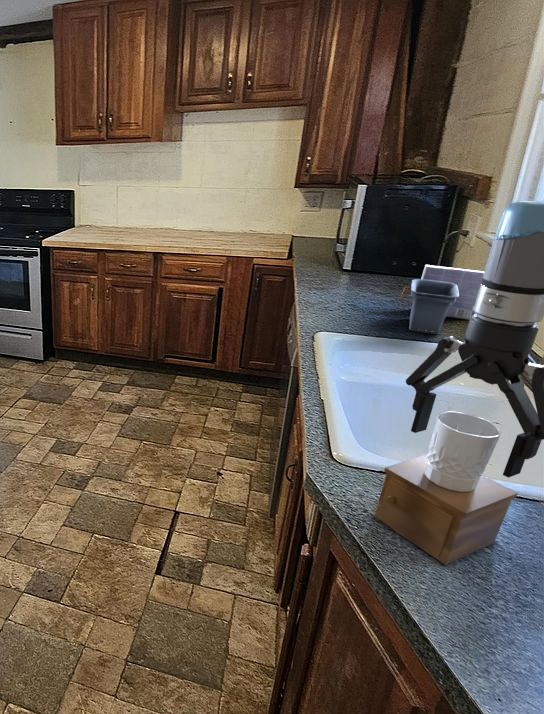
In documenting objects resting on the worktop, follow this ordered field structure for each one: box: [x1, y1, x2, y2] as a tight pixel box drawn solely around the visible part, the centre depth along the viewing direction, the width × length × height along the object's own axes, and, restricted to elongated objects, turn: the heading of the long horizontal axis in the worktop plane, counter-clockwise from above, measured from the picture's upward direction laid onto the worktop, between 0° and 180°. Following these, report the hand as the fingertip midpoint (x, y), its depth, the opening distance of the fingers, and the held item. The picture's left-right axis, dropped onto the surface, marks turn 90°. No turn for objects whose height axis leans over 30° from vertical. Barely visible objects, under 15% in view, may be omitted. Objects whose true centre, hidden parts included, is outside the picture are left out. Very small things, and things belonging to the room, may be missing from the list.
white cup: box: [425, 411, 502, 492], centre depth 81 cm, size 8×8×10 cm
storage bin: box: [400, 278, 459, 335], centre depth 182 cm, size 21×16×14 cm
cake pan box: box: [420, 264, 485, 321], centre depth 194 cm, size 19×5×18 cm, turn 60°
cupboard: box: [373, 453, 519, 566], centre depth 85 cm, size 13×14×10 cm
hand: (461, 450), depth 81 cm, fingers open, 13 cm apart
